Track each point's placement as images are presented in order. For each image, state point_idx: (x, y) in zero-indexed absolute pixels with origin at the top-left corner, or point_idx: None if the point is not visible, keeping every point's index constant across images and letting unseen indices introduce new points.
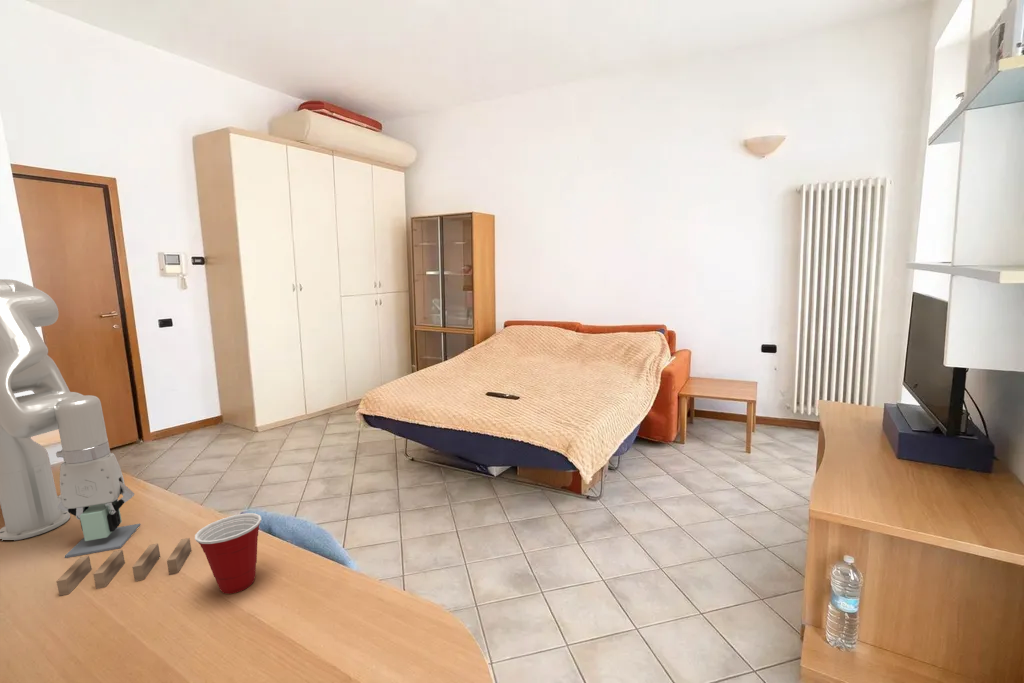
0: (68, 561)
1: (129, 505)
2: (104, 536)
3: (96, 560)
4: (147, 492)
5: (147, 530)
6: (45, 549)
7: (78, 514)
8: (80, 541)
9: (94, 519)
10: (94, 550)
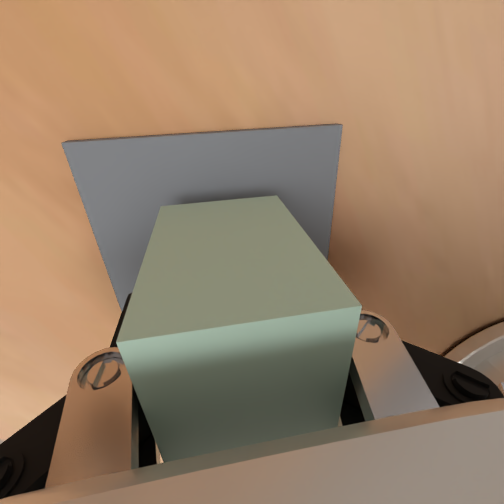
0: (304, 73)
1: None
2: (171, 208)
3: (125, 9)
4: None
5: (61, 299)
6: (438, 237)
7: (385, 346)
8: (324, 254)
9: (213, 277)
10: (204, 137)
